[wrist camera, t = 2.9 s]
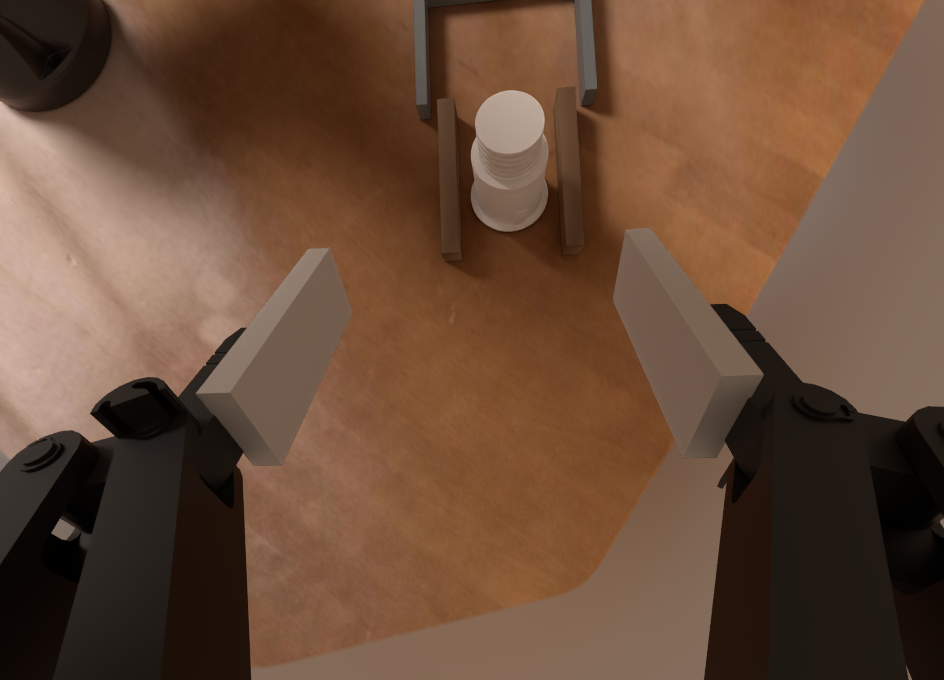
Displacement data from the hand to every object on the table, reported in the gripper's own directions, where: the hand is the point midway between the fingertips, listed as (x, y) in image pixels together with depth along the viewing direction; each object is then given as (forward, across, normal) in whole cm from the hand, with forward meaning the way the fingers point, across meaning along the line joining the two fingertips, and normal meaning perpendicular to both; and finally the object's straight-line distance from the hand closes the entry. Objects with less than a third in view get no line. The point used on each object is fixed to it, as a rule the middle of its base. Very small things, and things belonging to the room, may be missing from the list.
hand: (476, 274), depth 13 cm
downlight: (+24, +2, -6) cm, 25 cm away
